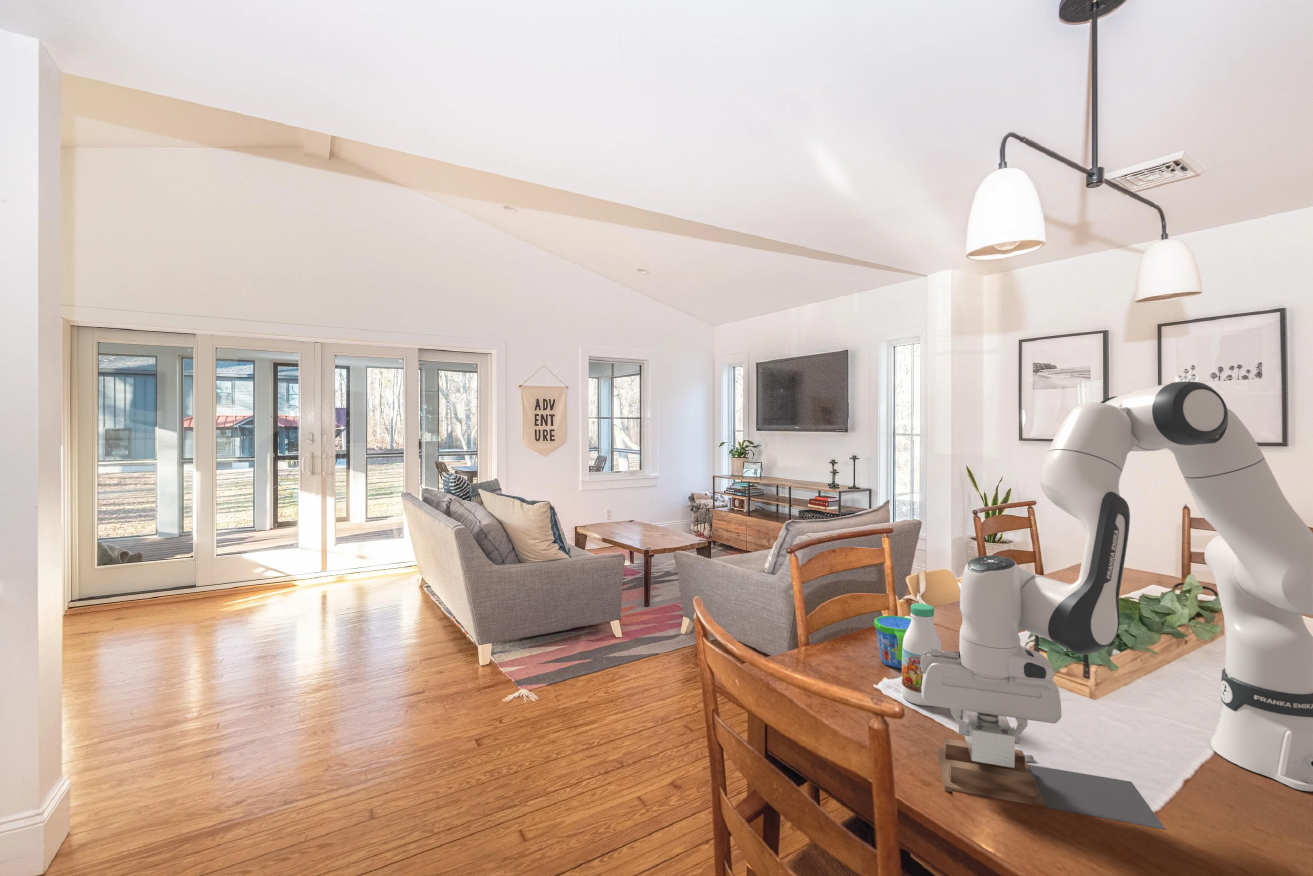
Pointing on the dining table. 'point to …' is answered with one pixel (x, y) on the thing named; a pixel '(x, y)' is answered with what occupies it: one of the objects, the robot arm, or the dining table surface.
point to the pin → (1029, 758)
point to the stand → (987, 775)
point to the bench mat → (1093, 796)
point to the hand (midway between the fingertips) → (987, 737)
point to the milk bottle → (917, 650)
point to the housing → (990, 739)
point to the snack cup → (891, 638)
